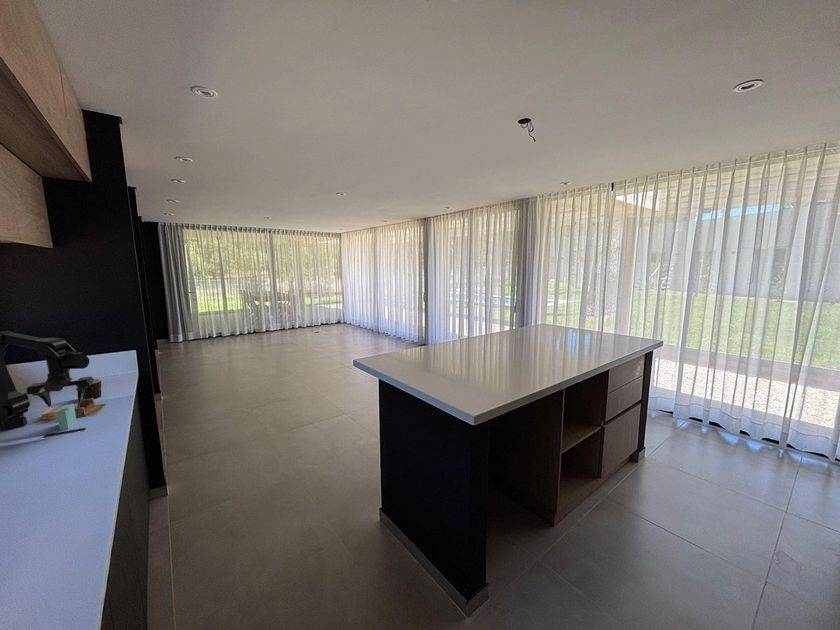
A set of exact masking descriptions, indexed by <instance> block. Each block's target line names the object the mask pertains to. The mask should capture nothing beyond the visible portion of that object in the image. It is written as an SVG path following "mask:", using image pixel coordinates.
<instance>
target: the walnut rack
mask: <svg viewBox="0 0 840 630" xmlns="http://www.w3.org/2000/svg"><path fill="white" fill-rule="evenodd" d="M94 400H95V399H93V398H91V399H84V400H83V399H82V400H81V402H79V401H78V400H76V404H77V405H76V406H74V409H75V415H76V419H81V418H87V417H93V416H94V417H95V416H97V415H98V414H99V413H100V412H101V410H103V409H104V408H105V406H106V405H107V404H108V403H107V402H106V403H100V404H95V401H94ZM56 422H59V421H58V419H52V420H46V421H43V417H41V419H40V420H39V421H37V422H36V423H35V424H34V426H38V425H44V424H50V423H51V424H52V423H56Z"/></svg>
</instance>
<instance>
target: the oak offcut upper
mask: <svg viewBox="0 0 840 630" xmlns="http://www.w3.org/2000/svg"><path fill="white" fill-rule="evenodd" d="M64 406H65V405H60V406H54V407H48V408H47V409H46V410H45V411H44V412H43V413H41V418H43V417H49V416H55V415H57V412H58V411H59V410H60V409H61V408H62V407H64Z"/></svg>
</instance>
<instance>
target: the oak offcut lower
mask: <svg viewBox="0 0 840 630" xmlns="http://www.w3.org/2000/svg"><path fill="white" fill-rule="evenodd" d="M42 418H43V421H46V420H52V419H58V416H57V415H55V416H49V417H42Z"/></svg>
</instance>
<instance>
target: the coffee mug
mask: <svg viewBox="0 0 840 630" xmlns="http://www.w3.org/2000/svg"><path fill="white" fill-rule="evenodd" d="M93 379H94V382H93V383H92V384H91V385H90V386H88V387H87V388H86V389H85V391H84V394H83V397H82V400H84V399H91V398H93V399H94V400H95V399H99V398H101V397H102V378H93Z"/></svg>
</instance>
